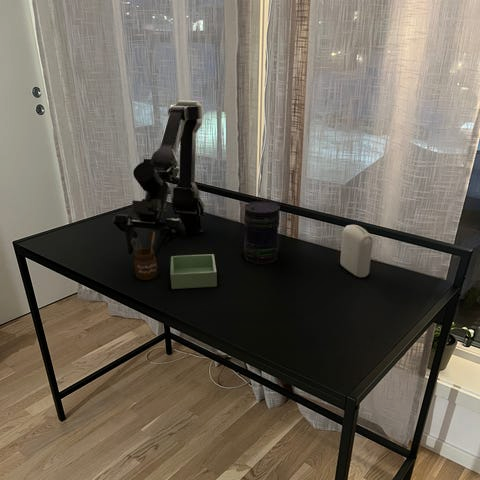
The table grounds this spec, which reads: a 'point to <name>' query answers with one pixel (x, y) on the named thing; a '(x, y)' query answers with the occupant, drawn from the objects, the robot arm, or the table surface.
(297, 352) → the table surface
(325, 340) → the table surface
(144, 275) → the utensil holder
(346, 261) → the photo printer
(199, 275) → the tray
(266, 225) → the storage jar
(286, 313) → the table surface
